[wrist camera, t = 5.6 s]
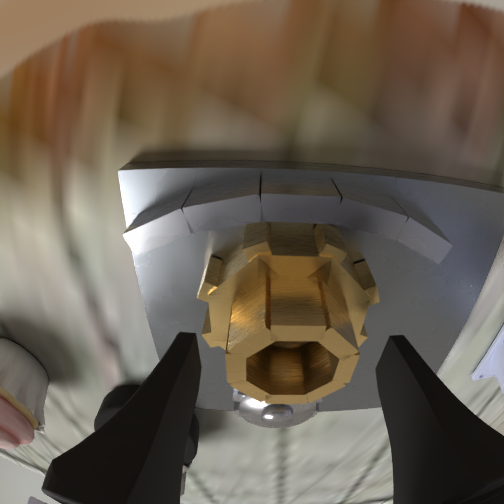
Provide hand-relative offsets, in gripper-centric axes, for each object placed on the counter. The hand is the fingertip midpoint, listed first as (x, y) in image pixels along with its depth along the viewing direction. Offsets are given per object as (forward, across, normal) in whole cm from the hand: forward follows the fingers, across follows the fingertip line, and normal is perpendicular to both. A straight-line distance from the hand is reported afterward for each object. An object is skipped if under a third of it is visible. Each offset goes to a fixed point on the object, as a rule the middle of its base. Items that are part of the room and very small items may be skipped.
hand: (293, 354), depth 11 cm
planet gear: (+4, 0, 0) cm, 4 cm away
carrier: (+5, -2, +3) cm, 6 cm away
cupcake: (+5, +22, +11) cm, 25 cm away
